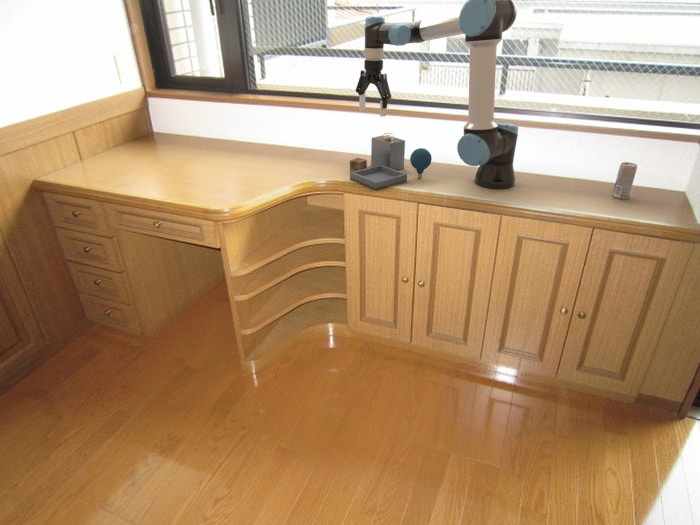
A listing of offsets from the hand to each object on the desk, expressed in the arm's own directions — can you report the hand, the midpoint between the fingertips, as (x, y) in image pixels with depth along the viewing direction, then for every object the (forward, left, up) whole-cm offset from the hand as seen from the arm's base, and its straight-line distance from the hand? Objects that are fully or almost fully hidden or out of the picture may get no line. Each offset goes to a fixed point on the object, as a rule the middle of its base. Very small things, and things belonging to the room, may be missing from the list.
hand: (372, 113), depth 207 cm
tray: (-21, +14, -21) cm, 33 cm away
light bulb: (-29, -1, -21) cm, 36 cm away
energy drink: (-89, -43, -21) cm, 101 cm away
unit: (-10, 0, -21) cm, 23 cm away
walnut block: (-7, +13, -21) cm, 26 cm away
